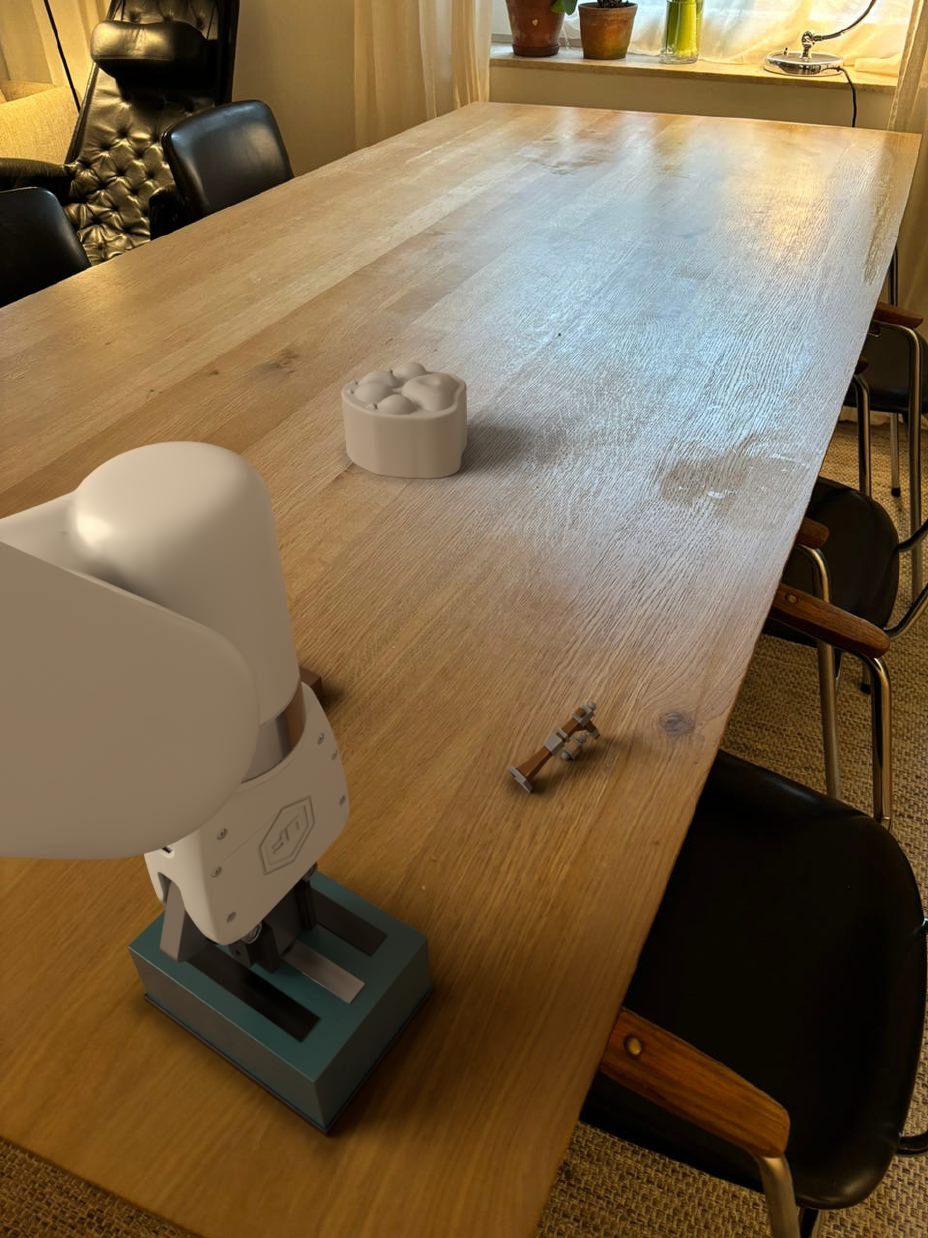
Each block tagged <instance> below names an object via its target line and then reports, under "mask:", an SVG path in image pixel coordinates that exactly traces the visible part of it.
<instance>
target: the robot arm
mask: <svg viewBox="0 0 928 1238" xmlns="http://www.w3.org/2000/svg"><path fill="white" fill-rule="evenodd" d="M280 551H281V550H280V544H279V538H278V532H277V526H276V520H275V514H274V508H273V504H272V500H271V496H270V493H269V489H268V487H267V484H266V483H265V481H264V478H263V477H262V475H260V473H259V472H258V470H257V469H256V468H255V466H253V464H252V463H250V462H249V461H248V460H246V459H245V458H244V457H243V456H242V455H240V454H238V453H237V452H234V451H233V450H230V449H227V448H224V447H223V446H219V445H215V444H211V443H207V442H201V441H191V440H183V441H182V440H181V441H179V440H177V441H173V440H172V441H165V442H157V443H152V444H148V445H147V444H146V445H144V446H139V447H136V448H133V449H130V450H127V451H124V452H122V453H119V454H118V455H115V456H113V457H111V458H110V459H108V460H107V461H105V462H104V463H102V464H100V465H99V466H98V467H96V468H95V469H94V470H93V471H92V472H91V473H90V474H88V475H87V476H86V477H85V478H84V479H83V480H82V481H81V482H80V484H79V485H78V486H77V487H76V488H75V490H73V491H71V492H69V493H65V494H63V495H61V496H59V497H56V498H54V499H51V500H49V501H46V502H44V503H41V504H39V505H36V506H33V507H30V508H27V509H25V510H22V511H19V512H17V513H14V514H11V515H8V516H5V517H3V518H0V858H11V859H12V858H13V859H14V858H15V859H20V858H21V859H41V860H46V859H47V860H77V861H79V860H81V861H82V860H83V861H106V860H117V859H127V858H132V857H136V856H141V855H143V856H144V860H145V865H146V868H147V871H148V875H149V878H150V881H151V883H152V886H153V889H154V891H155V894H156V896H157V898H158V900H159V902H160V903H161V905H162V906H163V907H164V908H165V909H166V910H165V909H164V910H165V916H164V923H163V929H162V935H161V942H160V950H161V951H162V952H164V953H165V954H167V955H168V956H170V957H171V958H172V959H174V960H175V961H177V962H178V963H182V962H184V961H186V960H187V959H189V958H190V957H192V956H194V955H195V954H197V953H198V952H200V951H202V950H203V949H205V947H206V945H207V944H209V943H210V942H211V943H212V944H214V945H218V944H220V945H228V947H229V950H230V953H231V954H232V956H233V957H234V958H235V959H236V960H237V961H239V962H240V963H241V964H243V965H244V966H246V967H248V968H251V967H252V966H253V965H254V964H257V965H258V966H260V967H261V968H263V969H264V970H266V971H267V972H269V973H270V974H274V973H275V972H276V971H277V969H278V968H279V967H280V964H279V963H280V958H279V954H278V949H277V945H276V941H275V937H274V933H273V929H272V928H271V926H270V925H268V924H267V923H264V922H262V921H261V920H262V919H263V918H264V917H265V916H266V915H267V914H268V913H269V912H270V911H271V910H272V909H273V908H274V907H275V906H276V904H277V903H278V902H279V901H280V900H281V899H282V898H283V897H284V896H285V895H286V894H287V893H288V892H289V891H290V890H291V888H292V887H293V888H294V894H295V899H296V903H297V908H298V913H299V917H300V922H301V927H302V929H303V930H304V931H306V932H307V931H308V930H310V931H311V930H312V929H313V928H314V927H315V926H316V925H317V924H318V922H317V917H316V912H315V906H314V901H313V895H312V890H311V885H310V880H311V879H312V877H313V876H314V875H315V873H316V871H317V870H318V867H319V866H318V860H319V859H320V858H321V857H322V856H323V855H324V854H325V853H326V851H328V850H329V848H330V847H331V846H332V845H333V844H334V843H335V842H336V840H337V839H338V838H339V836H340V835H341V833H342V832H343V830H344V829H345V827H346V826H347V823H348V822H349V819H350V813H351V812H350V811H351V810H350V808H351V805H350V804H351V803H350V793H349V788H348V783H347V778H346V774H345V773H346V772H345V770H344V769H345V768H344V765H343V761H342V756H341V752H340V749H339V747H338V743H337V739H336V736H335V734H334V731H333V729H332V726H331V723H330V721H329V719H328V717H327V714H326V713H325V711H324V709H323V707H322V705H321V703H320V700H319V701H318V699H317V697H316V696H315V694H314V692H313V690H312V689H311V688H310V687H309V686H308V685H307V684H305V683H303V682H302V681H301V676H300V670H299V666H300V665H299V659H298V654H297V649H296V648H297V647H296V641H295V636H294V631H293V624H292V619H291V612H290V606H289V601H288V593H287V587H286V581H285V576H284V570H283V562H282V556H281V552H280ZM298 665H299V666H298Z"/></svg>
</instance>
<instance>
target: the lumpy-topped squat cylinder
mask: <svg viewBox="0 0 928 1238" xmlns="http://www.w3.org/2000/svg"><path fill="white" fill-rule="evenodd" d="M467 388H468V386H467V383H466V381H465V380H464V379H462V378H461V377H459V376H458V375H454V374H451V373H447V372H440V371H429V370H427V369H426V368H425V367H424V366H423V365H422V364H421V363H419V362H415V361H407V362H404V363H402V364H399V365H398V366H396V367H394V369H389V368H388V369H374V370H372V371H370V372H368V373H367V374H366V375H363V376H361V377H358V378H355V379H354V380H351V381H349V382H348V383H347V384H345V385H344V386H343V387H342V390H341V394H340V396H341V407H342V408H341V409H342V415H343V416H342V418H343V429H344V438H345V448H346V449H345V450H346V454H347V456H348V458H349V459H350V460H351V462H352V463H354V464H355V465H357V466H358V467H359V468H362V469H364V470H365V471H369V472H370V473H373V474H376V475H380V476H384V477H385V476H386V477H393V478H404V479H427V480H429V479H442V478H446V477H449V476H453V475H454V474H456V473H457V472H458V471H459V470H460V469H461V466H462V455H463V453H464V452H465V451H466V448H467V446H468V404H467V403H468V393H467V390H468V389H467Z"/></svg>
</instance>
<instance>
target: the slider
mask: <svg viewBox="0 0 928 1238" xmlns="http://www.w3.org/2000/svg"><path fill="white" fill-rule="evenodd" d="M261 921H262V922H264V923H267V924H268V925H270V926H271V928H272V929H273V933H274V937H275V941H276V945H277V949H278V954H279V956H280V954H281V953H282V952H283V951H284V950H285V949H286V948H287V947H288V945H289V944H290V943H291V942H292V941H293V940H294V939H295V938H296V936H297V935H298V934H299V933H300V932H301V931H302V927H301V922H300V917H299V913H298V908H297V903H296V899H295V894H294V888H293V887H292V888H291V890H290V891H289V892H288V893H287V894H286V895H285V896H284V897H283V898H282V899H281V900H280V901H279V902H278V903H277V904H276V906H275V907H274V908H273V909H272V910H271V911H270V912H269V913H268V914H267V915H266V916H265V917H264V918H263V919H262V920H261Z"/></svg>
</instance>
